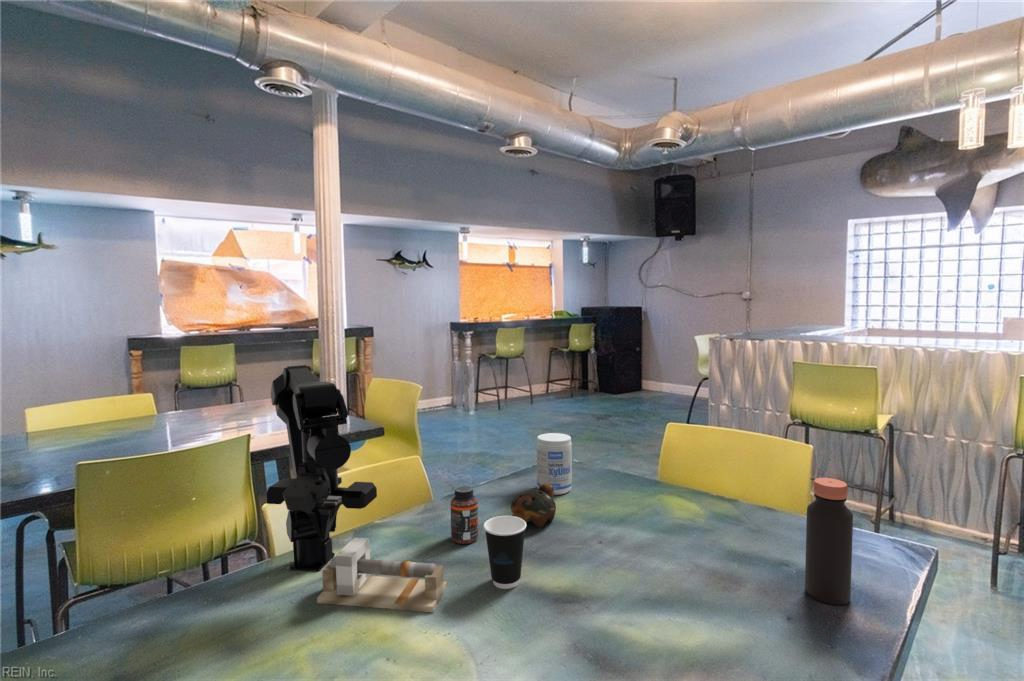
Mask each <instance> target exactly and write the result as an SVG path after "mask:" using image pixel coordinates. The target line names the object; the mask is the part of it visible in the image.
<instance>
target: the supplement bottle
mask: <svg viewBox="0 0 1024 681" xmlns="http://www.w3.org/2000/svg"><path fill="white" fill-rule="evenodd" d="M478 502H479V501H478V499H477V497H476V496H475V495H474V488H473V487H472V486H470V485H460V486H456V487H455V488H454V496H453V497H452V498H451V500H450V536H451V537H450V538H451V541H453V542H454V543H457V544H460V545H468V544H472V543H474V542H476V541H477V540H478V538H479V504H478Z"/></svg>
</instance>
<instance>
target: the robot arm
mask: <svg viewBox="0 0 1024 681" xmlns="http://www.w3.org/2000/svg"><path fill="white" fill-rule="evenodd" d="M270 399H271V401H270V402H271V405H272V406H275V412H276V416H277V417H278V418H279V419H280V420H281V421H282V422H283V423H284V424H285V425H286V432H287V436H288V437H287V438H288V443H289V444H288V446H289V450H290V458H291V464H292V465H291V466H292V471H293V477H294V478H282V479H281V480H279V481H277V482H275V483H273V484H271V485H270V486H269V487H268V488H267V489H266V491H265V503H266V504H268V505H281V504H283V503H285V506H286V509H287V516H286V521H285V526H286V527H285V528H286V535H287V537H288V539H289V541H290V543H292V546H293V550H292V551H293V562H292V563H291V564H289V569H290V570H301V571H314V572H318V571H320V570H321V571H322V569H323V568H324V567H325V566H326V565H327V564H328V563H329V562H330V561H331V559H332V558H333V557H335V556H336V554H335V552H333V539H332V538H331V537H330V533H334V532H336V528H337V515H338V511H339V509H340V508H341V506H342V505H343V507H344V508H346V509H356V510H357V509H358V510H361V509H365V508H366V507H367V506H368V505H369V504H371V503H372V502H373V501H374V500H375V499H376V498H377V497H378V493H377V486H376V485H375V483H374V482H372V481H368V482H367V481H354V482H353V483H352V484H350V485H348V487H345V486H343V487H341V486H339V485H341V484H342V483H343V481H342V477H339V475H338V474H339V472H338V469H339V468H341V467H344V465H345V464H346V463H348V461H349V459H350V457H351V452H352V447H351V445H350V443H349V441H348V440H347V438H346V437H344V436H343V435H342V434H341V433H340V432H339V426H340V425H341V426H342V425H346V424H347V423H348V422H347V418H348V415H349V412H348V408H347V406H346V401H345V398H344V395H343V394H342V393H341V390H340V389H339V388H337V386H336V384H335V383H333V382H330V381H320V380H319V379H318V377H316V375H314V373H313V372H312V369H311V366H309V365H306V364H302V365H287V366H286V367H284V368H283V370H282V373H281V374H280V375H279V376H277V377H276V378H275V379H273V380H272V383H271V388H270Z"/></svg>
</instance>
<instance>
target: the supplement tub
mask: <svg viewBox="0 0 1024 681" xmlns="http://www.w3.org/2000/svg"><path fill="white" fill-rule="evenodd" d="M536 440H537V441H536V488H537V489H538V488H539V486H541V485H542V484H545V483H549V484H551V485H552V486H553V490H554V495H555V496H556V495H557V496H558V495H564V494H568V493H569V492H570V491H571V489H572V487H573V486H572V485H573V484H572V483H573V482H572V480H573V479H572V477H573V473H572V472H573V469H572V467H573V466H572V465H573V464H572V460H573V459H572V458H573V457H572V456H573V455H572V452H573V451H572V449H573V448H572V444H573V443H572V437H571V436H570V435H569V434H566V433H561V432H560V433H559V432H548V433H542V434H539V435H537V437H536Z"/></svg>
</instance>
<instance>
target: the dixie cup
mask: <svg viewBox="0 0 1024 681" xmlns="http://www.w3.org/2000/svg"><path fill="white" fill-rule="evenodd" d="M482 527H483V530H484V531H485V539H486V547H487V553H488V560H489V561H488V562H489V568H490V569H489V570H490V576H491V579H492V580H493V581H492V583H493V585H494V586H495V587H496V588H499V589H501V590H502V589H503V590H507V589H514V588H515V587H517V586H518V585H519V584H520V579H521V575H522V565H523V564H522V563H523V553H524V543H525V542H524V541H525V533H526V532H525V530H526V528H527V523H526V522H525V521H524V520H523V519H521V518H519V517H515V516H512V515H499V516H493V517H491V518H489V519H487V520H486V521H485V522H484V524H483V526H482ZM518 583H519V584H518Z"/></svg>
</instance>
